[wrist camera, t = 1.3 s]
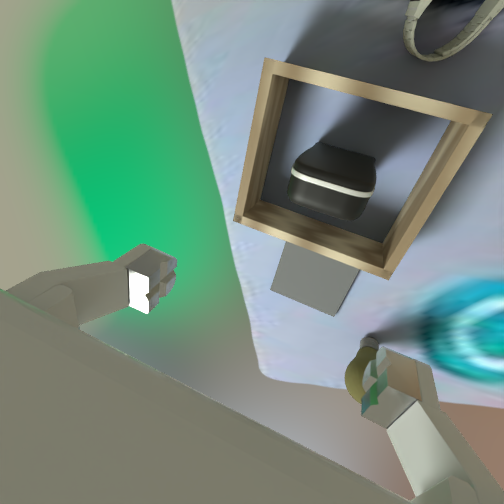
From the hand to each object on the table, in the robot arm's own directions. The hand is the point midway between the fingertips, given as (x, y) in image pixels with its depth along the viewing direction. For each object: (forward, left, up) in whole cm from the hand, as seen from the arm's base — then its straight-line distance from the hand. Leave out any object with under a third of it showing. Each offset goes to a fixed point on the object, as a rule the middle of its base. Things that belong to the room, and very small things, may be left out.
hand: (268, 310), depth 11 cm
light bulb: (-13, +22, -26) cm, 36 cm away
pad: (-2, +15, -26) cm, 30 cm away
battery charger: (0, 0, -26) cm, 26 cm away
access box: (0, 0, -26) cm, 26 cm away
